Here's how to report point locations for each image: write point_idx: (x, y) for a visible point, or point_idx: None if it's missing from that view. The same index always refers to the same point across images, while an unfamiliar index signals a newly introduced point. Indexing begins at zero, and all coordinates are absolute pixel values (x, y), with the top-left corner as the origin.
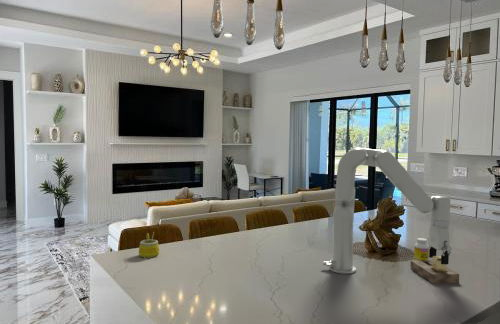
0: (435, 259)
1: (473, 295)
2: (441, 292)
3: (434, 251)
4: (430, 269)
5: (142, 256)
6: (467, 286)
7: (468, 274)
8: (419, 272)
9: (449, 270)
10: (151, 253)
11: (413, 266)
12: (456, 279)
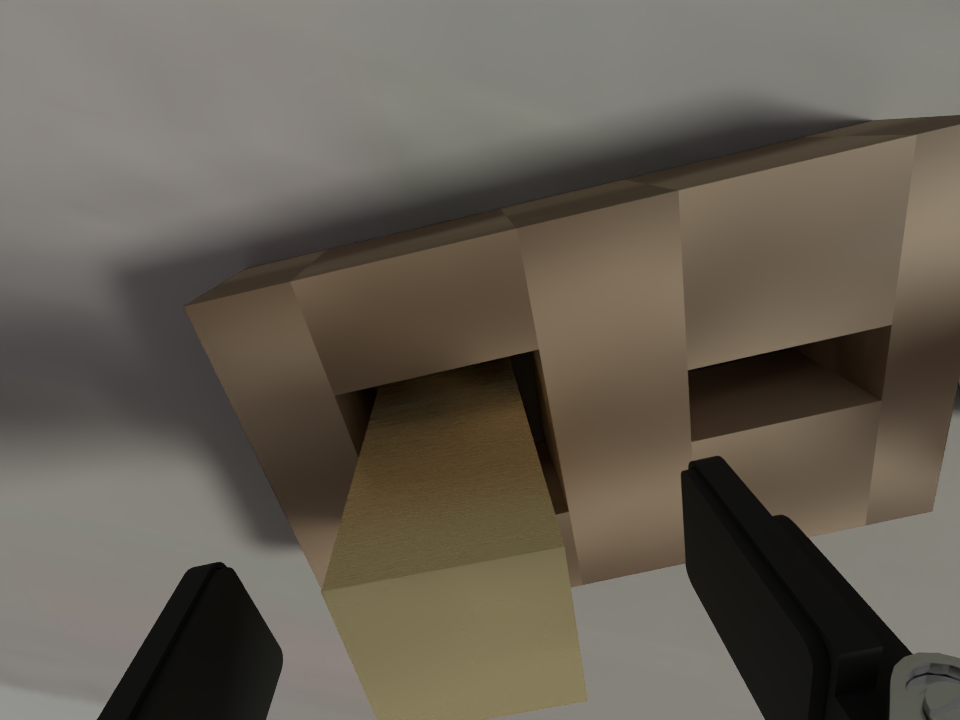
0: (413, 535)
1: (18, 571)
2: None
3: (767, 683)
4: (473, 343)
5: None
6: (281, 587)
7: (637, 668)
8: (607, 188)
9: None
10: None
11: (831, 141)
12: None
